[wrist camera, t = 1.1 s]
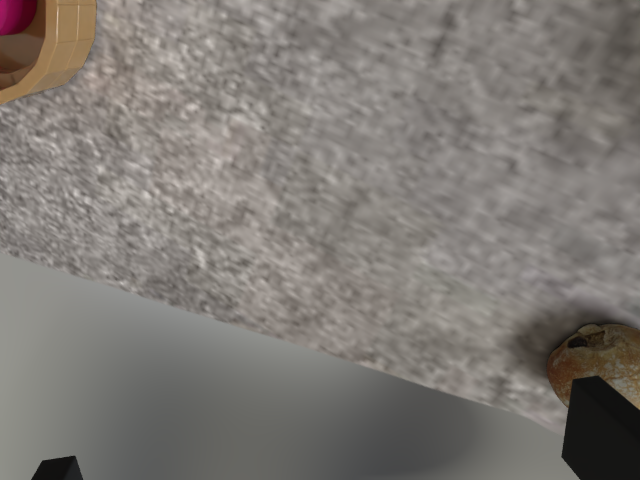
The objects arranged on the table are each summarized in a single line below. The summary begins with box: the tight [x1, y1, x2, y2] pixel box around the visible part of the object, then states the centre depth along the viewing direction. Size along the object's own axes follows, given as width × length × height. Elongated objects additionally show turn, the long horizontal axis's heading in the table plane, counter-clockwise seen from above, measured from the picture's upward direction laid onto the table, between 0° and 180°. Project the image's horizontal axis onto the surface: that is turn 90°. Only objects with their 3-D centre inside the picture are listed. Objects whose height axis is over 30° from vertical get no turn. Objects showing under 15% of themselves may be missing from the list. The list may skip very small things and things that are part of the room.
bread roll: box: [547, 324, 640, 410], centre depth 41 cm, size 10×10×8 cm
